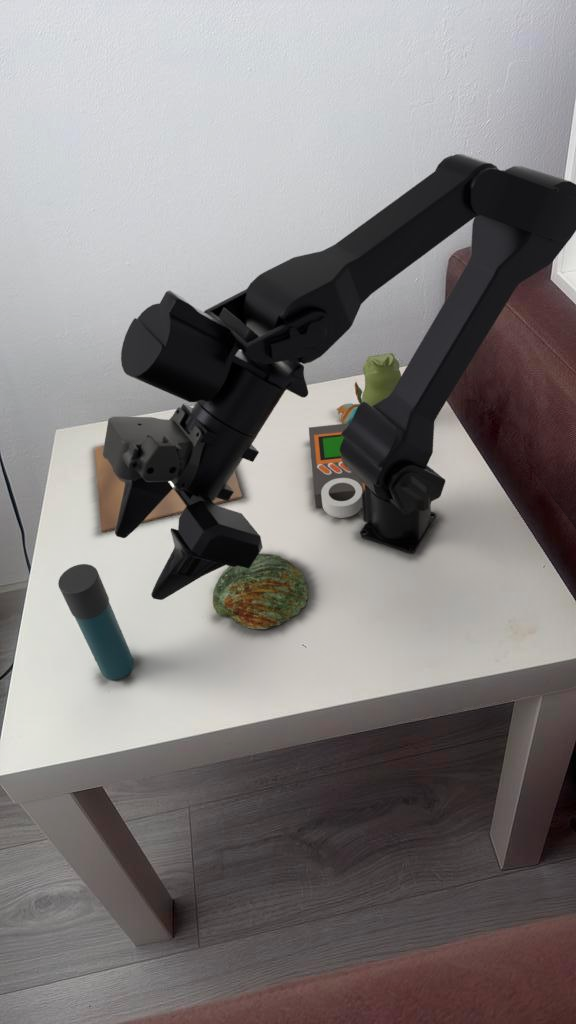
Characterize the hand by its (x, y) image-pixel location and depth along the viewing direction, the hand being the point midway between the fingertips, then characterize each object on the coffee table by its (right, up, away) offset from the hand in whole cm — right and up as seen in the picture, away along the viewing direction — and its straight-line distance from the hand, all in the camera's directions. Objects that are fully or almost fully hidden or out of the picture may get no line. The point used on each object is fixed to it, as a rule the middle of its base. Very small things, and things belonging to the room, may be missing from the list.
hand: (137, 565), depth 65 cm
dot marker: (-3, -10, +6) cm, 12 cm away
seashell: (+10, -4, +11) cm, 16 cm away
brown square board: (-2, +10, +28) cm, 30 cm away
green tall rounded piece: (+26, +16, +31) cm, 43 cm away
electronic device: (+20, +9, +24) cm, 32 cm away
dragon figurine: (+24, +19, +31) cm, 43 cm away
